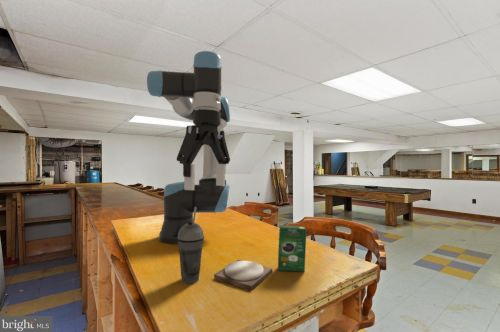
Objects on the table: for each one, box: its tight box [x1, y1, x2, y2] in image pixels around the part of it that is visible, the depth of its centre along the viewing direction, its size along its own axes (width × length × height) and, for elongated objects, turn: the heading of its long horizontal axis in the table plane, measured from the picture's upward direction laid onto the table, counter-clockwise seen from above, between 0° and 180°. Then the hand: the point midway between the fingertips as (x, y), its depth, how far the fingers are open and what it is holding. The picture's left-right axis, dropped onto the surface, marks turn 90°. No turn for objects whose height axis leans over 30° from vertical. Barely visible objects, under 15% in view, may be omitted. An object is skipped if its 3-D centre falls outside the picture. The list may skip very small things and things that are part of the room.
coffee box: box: [277, 225, 307, 273], centre depth 75 cm, size 8×3×13 cm, turn 87°
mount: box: [213, 259, 273, 292], centre depth 71 cm, size 12×12×2 cm
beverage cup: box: [177, 207, 205, 285], centre depth 68 cm, size 7×7×20 cm
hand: (206, 187), depth 69 cm, fingers open, 13 cm apart
